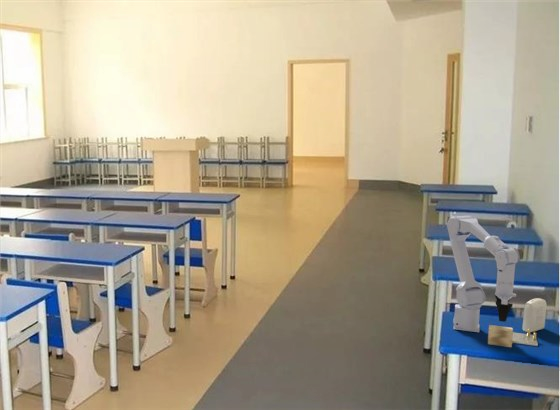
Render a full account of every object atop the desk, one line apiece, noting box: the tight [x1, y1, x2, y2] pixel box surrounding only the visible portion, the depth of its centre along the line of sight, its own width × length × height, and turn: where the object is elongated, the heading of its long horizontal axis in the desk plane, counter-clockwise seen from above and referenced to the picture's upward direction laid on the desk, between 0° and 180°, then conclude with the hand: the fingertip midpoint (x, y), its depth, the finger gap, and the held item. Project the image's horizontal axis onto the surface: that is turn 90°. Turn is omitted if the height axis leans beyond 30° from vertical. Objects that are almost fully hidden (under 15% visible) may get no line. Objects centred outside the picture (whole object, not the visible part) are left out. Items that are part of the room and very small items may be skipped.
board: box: [487, 324, 514, 348], centre depth 214 cm, size 8×4×6 cm, turn 72°
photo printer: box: [521, 297, 548, 333], centre depth 228 cm, size 10×4×12 cm, turn 123°
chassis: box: [512, 329, 539, 347], centre depth 218 cm, size 12×9×3 cm
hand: (501, 317), depth 213 cm, fingers open, 7 cm apart
